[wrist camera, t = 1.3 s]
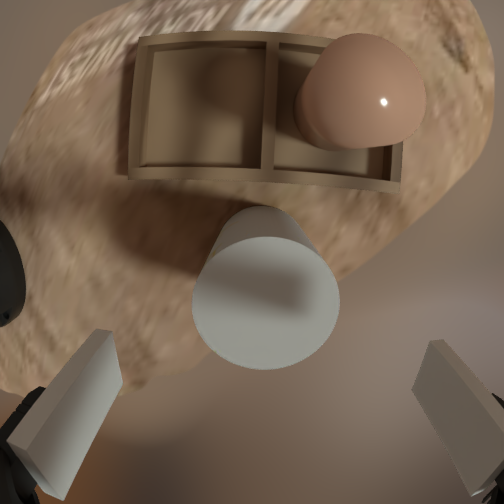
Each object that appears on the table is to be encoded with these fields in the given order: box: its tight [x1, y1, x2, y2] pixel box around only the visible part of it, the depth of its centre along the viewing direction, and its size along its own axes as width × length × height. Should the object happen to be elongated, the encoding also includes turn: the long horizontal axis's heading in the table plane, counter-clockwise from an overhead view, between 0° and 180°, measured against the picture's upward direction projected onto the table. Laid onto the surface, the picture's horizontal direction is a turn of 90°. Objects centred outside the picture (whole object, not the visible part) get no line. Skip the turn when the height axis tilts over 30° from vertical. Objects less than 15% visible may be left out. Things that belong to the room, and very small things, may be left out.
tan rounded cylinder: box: [293, 33, 426, 152], centre depth 19 cm, size 7×7×10 cm
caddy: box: [128, 31, 403, 194], centre depth 23 cm, size 23×13×2 cm, turn 87°
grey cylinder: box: [192, 206, 340, 369], centre depth 22 cm, size 8×8×12 cm
